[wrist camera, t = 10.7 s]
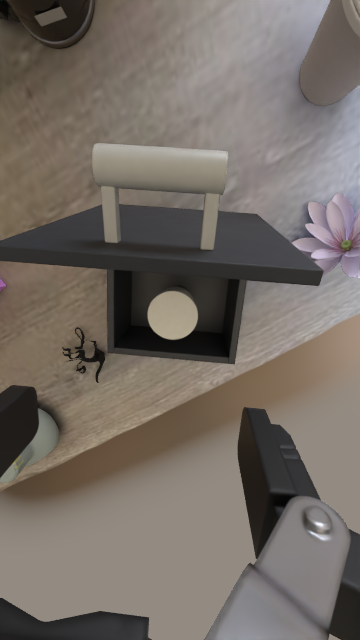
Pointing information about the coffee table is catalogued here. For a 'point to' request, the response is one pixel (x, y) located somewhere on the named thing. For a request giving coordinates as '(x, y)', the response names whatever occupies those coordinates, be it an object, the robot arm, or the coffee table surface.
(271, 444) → the robot arm
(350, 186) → the coffee table surface
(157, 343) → the open lidded box
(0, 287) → the bracket
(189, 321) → the coffee pod
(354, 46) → the coffee cup
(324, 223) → the water lily
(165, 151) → the lid
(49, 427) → the air freshener
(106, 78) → the coffee table surface
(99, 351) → the creature
